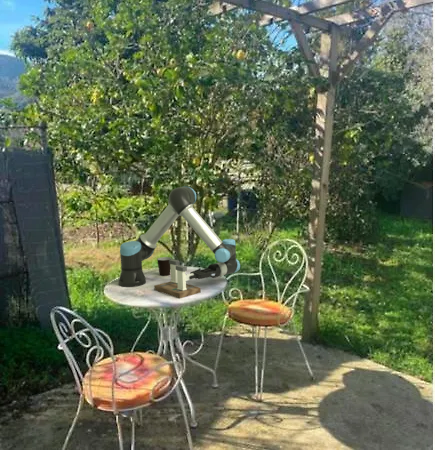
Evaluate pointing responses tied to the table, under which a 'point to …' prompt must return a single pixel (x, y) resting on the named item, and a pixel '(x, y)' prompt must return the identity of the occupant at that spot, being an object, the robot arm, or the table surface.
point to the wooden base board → (172, 289)
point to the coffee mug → (164, 266)
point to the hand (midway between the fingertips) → (183, 278)
